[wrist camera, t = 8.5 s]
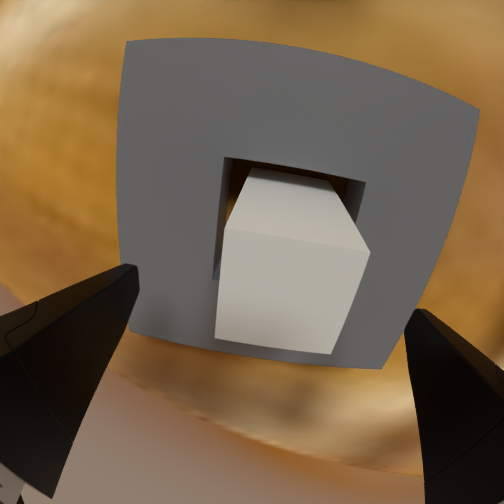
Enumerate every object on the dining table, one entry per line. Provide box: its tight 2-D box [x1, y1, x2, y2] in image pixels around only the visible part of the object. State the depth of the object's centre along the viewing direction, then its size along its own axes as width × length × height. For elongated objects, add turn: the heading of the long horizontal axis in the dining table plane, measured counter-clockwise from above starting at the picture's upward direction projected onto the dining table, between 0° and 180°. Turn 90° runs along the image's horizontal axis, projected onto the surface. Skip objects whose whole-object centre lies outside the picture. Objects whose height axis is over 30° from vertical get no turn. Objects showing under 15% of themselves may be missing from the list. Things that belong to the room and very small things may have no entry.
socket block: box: [116, 38, 480, 369], centre depth 14 cm, size 16×16×3 cm
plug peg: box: [215, 168, 370, 354], centre depth 12 cm, size 4×4×8 cm
